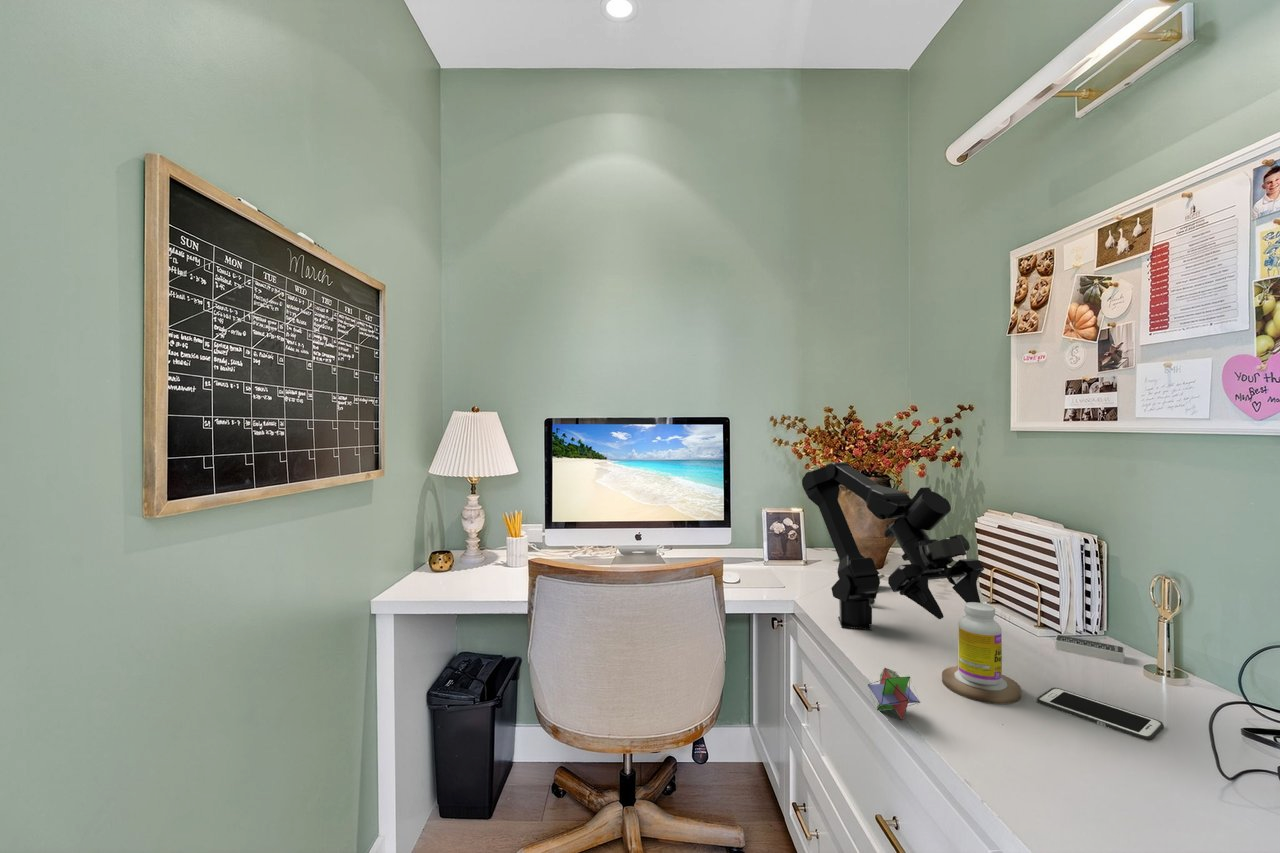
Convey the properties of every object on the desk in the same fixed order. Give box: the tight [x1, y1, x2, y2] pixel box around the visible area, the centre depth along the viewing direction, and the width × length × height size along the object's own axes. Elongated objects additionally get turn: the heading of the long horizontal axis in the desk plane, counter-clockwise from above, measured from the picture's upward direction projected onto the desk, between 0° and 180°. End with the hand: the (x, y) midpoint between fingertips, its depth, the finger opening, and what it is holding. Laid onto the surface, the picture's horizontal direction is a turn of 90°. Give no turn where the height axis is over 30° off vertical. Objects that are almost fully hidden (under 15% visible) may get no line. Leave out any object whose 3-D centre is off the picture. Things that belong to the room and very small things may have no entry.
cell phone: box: [1036, 687, 1165, 742], centre depth 90 cm, size 8×15×1 cm, turn 35°
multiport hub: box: [1054, 634, 1125, 664], centre depth 114 cm, size 4×11×2 cm, turn 49°
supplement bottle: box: [957, 602, 1003, 685], centre depth 99 cm, size 7×7×13 cm
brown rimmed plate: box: [941, 665, 1022, 705], centre depth 99 cm, size 12×12×2 cm
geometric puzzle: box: [866, 667, 921, 722], centre depth 90 cm, size 7×7×8 cm
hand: (961, 615), depth 103 cm, fingers open, 9 cm apart
